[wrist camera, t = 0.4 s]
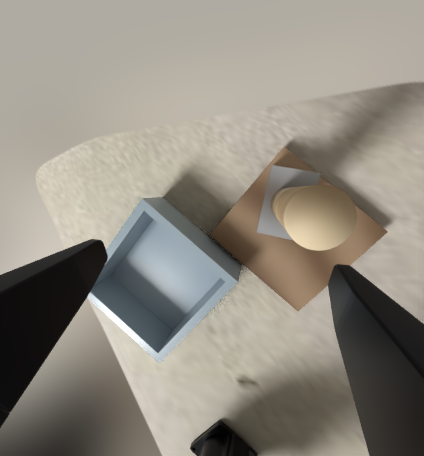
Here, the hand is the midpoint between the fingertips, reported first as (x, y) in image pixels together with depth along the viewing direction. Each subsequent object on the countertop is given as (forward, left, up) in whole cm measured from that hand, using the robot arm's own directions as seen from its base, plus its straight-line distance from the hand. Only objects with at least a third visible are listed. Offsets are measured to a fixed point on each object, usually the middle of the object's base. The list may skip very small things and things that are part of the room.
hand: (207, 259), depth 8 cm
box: (-10, +2, -15) cm, 18 cm away
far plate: (+2, -5, -15) cm, 16 cm away
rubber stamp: (+4, -2, -14) cm, 15 cm away
